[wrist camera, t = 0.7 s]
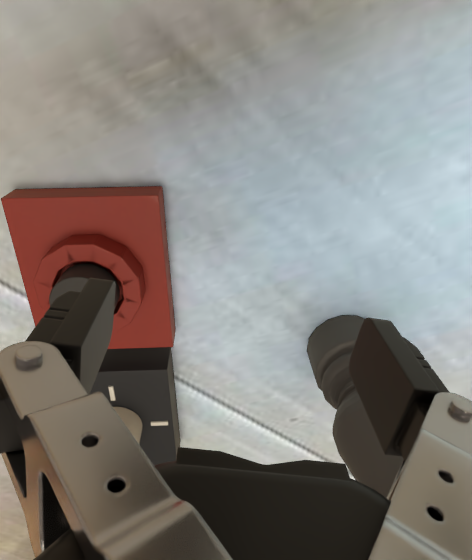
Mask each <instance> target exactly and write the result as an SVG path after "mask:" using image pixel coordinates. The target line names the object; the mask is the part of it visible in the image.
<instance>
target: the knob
mask: <svg viewBox="0 0 472 560" xmlns="http://www.w3.org/2000/svg"><path fill="white" fill-rule="evenodd" d="M113 408H114V409H115V411H116V412H117V414H118V415H119V416H120V418H121V419H122V421H123V422H124V424H125V425H126V426H127V428H128V429H129V431H130V432H131V433H132V435H133V436H134V438H135V439H136V441H137V442H138V443H139V442H140V437H141V432H142V421H141V419H140V417H139V416H138V415H137V414H136V413H135V412H133V411H131V410H129V409H127V408H123V407H113Z"/></svg>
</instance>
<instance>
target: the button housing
mask: <svg viewBox="0 0 472 560" xmlns="http://www.w3.org/2000/svg"><path fill="white" fill-rule="evenodd" d="M1 201H2V205H3V208H4V212H5V216H6V219H7V223H8V227H9V231H10V234H11V238H12V242H13V245H14V249H15V253H16V256H17V260H18V264H19V267H20V271H21V275H22V279H23V282H24V286H25V290H26V293H27V297H28V301H29V304H30V308H31V312H32V315H33V319H34V323H35V327H36V326H37V324H38V323H39V321H40V320H41V319H42V317H44V314H45V313H46V312H47V310H48V309H49V308H50V304H49V296H50V292H51V290H52V288H53V287H54V285H55V284H56V283H57V281H58V280H59V278H60V277H61V276H62V274H63V273H64V272H65V271H66V270H67V269H68V268H70V267H72V266H74V265H77V264H84V263H87V264H94V265H97V266H100V267H102V268H104V269H106V270H107V271H108V272H109V273H111V274H112V275H113V277H114V278H115V279H116V281H117V283H118V286H119V290H120V296H119V300H118V302H117V305H116V307H115V310H114V318H113V329H112V335H111V340H110V343H109V346H108V349H126V348H158V347H173V344H174V338H175V320H174V309H173V298H172V287H171V276H170V265H169V254H168V243H167V232H166V221H165V210H164V199H163V188H162V186H148V187H100V188H52V189H15V190H13V191H12V192H10V193H9V194H7V195H6V196H4V197H3V198H1Z"/></svg>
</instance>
